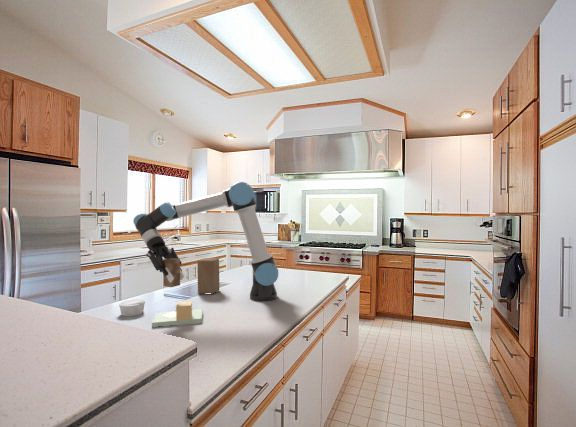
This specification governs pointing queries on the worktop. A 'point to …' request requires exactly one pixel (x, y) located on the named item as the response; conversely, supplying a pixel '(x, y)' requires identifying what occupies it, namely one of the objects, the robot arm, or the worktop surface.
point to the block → (208, 275)
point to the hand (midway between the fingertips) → (177, 279)
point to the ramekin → (132, 307)
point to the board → (170, 318)
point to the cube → (184, 310)
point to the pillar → (172, 272)
